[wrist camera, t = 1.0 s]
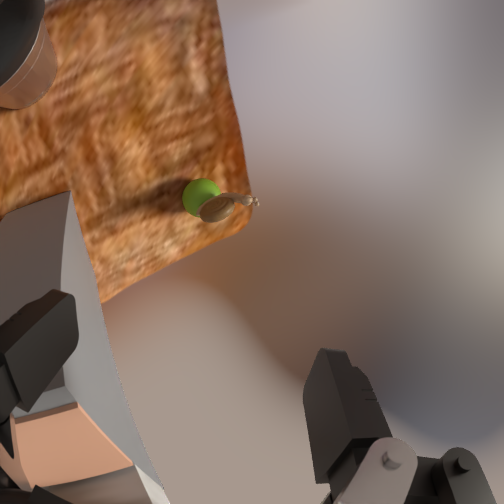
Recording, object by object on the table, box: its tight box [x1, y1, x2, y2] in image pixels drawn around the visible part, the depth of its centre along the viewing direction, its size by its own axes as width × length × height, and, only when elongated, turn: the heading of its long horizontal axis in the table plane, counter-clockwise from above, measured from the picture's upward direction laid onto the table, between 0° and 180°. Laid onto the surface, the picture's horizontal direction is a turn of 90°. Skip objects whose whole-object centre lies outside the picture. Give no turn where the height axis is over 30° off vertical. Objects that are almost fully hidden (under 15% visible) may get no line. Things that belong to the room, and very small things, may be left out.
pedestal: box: [0, 191, 164, 492], centre depth 21 cm, size 10×13×32 cm
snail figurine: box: [182, 178, 259, 223], centre depth 38 cm, size 5×6×12 cm
